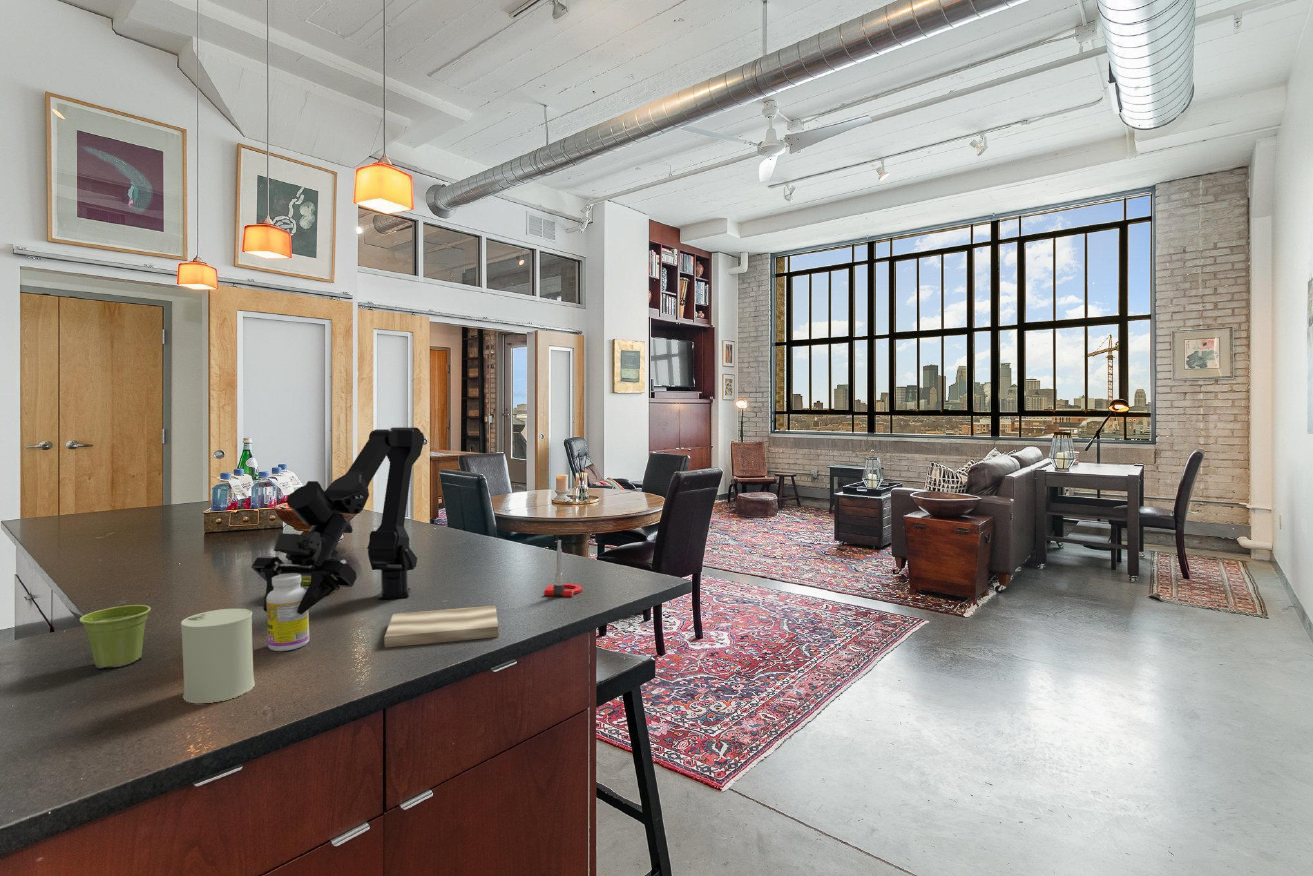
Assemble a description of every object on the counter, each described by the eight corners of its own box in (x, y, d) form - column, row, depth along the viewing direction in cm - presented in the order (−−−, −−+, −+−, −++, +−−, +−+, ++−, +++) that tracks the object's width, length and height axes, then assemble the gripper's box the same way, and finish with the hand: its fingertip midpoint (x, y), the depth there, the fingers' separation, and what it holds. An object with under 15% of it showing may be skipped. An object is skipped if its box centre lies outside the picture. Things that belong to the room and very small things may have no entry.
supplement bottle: (270, 642, 124) (268, 573, 123) (310, 637, 126) (308, 570, 126) (265, 654, 117) (263, 582, 117) (307, 649, 120) (305, 578, 119)
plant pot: (95, 678, 107) (92, 625, 107) (72, 666, 112) (70, 615, 112) (162, 659, 115) (160, 610, 115) (138, 649, 120) (136, 602, 120)
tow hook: (552, 587, 162) (540, 596, 153) (552, 534, 162) (540, 540, 153) (586, 589, 161) (575, 598, 152) (586, 535, 161) (576, 541, 152)
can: (205, 680, 106) (203, 606, 106) (266, 678, 107) (264, 604, 107) (168, 706, 97) (165, 624, 97) (235, 703, 98) (232, 622, 97)
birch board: (393, 623, 134) (393, 613, 134) (495, 614, 139) (495, 605, 139) (384, 647, 121) (384, 636, 120) (498, 636, 126) (498, 626, 126)
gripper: (257, 514, 126) (209, 586, 116) (345, 516, 123) (304, 592, 113) (289, 546, 135) (247, 617, 124) (372, 550, 131) (336, 623, 121)
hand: (282, 612), depth 120 cm, fingers closed on supplement bottle, 7 cm apart
